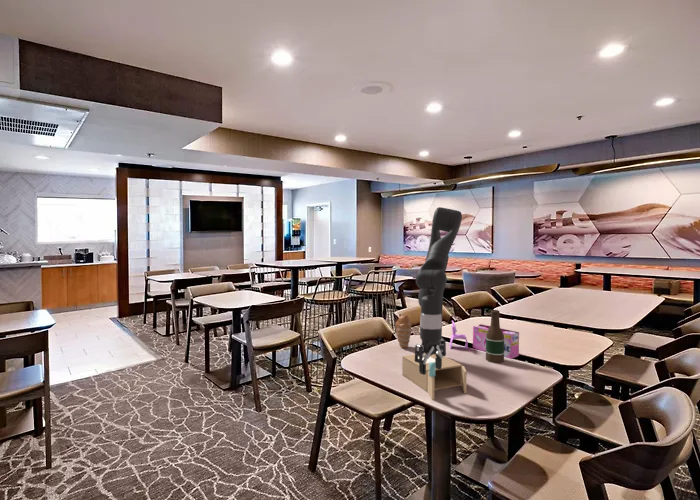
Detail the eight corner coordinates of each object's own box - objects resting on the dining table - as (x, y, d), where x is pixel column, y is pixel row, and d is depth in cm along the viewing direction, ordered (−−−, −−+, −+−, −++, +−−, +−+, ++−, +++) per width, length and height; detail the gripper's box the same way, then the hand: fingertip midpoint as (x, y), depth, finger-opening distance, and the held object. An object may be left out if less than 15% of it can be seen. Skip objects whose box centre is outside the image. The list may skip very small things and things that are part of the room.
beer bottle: (485, 363, 168) (485, 311, 168) (486, 358, 176) (486, 308, 175) (504, 365, 166) (504, 312, 165) (503, 360, 173) (504, 309, 172)
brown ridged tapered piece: (392, 348, 193) (392, 314, 192) (402, 345, 198) (402, 312, 197) (405, 352, 186) (405, 316, 186) (415, 349, 191) (415, 314, 191)
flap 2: (461, 386, 142) (461, 365, 142) (463, 386, 142) (463, 365, 142) (464, 393, 136) (464, 371, 136) (466, 393, 136) (466, 371, 136)
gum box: (470, 350, 190) (470, 325, 190) (478, 347, 194) (479, 323, 194) (510, 361, 172) (511, 334, 172) (519, 358, 176) (519, 332, 176)
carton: (434, 370, 160) (435, 351, 160) (461, 385, 143) (462, 364, 143) (402, 375, 154) (402, 355, 154) (426, 391, 137) (426, 369, 137)
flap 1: (425, 392, 136) (425, 358, 136) (431, 392, 136) (431, 358, 136) (430, 399, 130) (430, 364, 130) (436, 399, 130) (436, 364, 130)
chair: (468, 352, 185) (468, 322, 185) (449, 351, 187) (450, 322, 186) (465, 348, 193) (466, 319, 193) (448, 347, 195) (448, 318, 195)
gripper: (435, 321, 138) (435, 364, 139) (409, 326, 129) (409, 372, 130) (452, 324, 132) (451, 369, 133) (426, 330, 123) (425, 379, 124)
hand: (430, 371), depth 131 cm, fingers open, 8 cm apart
